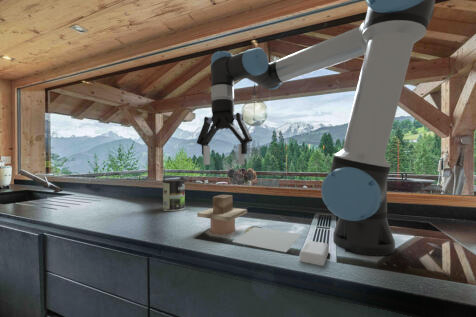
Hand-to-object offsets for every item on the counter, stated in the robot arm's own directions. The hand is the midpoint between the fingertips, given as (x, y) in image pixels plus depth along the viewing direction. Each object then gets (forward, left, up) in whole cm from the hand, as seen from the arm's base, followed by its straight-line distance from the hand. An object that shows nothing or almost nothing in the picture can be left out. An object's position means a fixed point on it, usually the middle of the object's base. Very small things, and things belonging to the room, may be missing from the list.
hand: (223, 164), depth 77 cm
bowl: (0, 0, -22) cm, 22 cm away
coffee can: (+39, -18, -22) cm, 49 cm away
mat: (-16, 0, -22) cm, 27 cm away
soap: (-30, +7, -23) cm, 39 cm away
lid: (0, 0, -17) cm, 17 cm away
